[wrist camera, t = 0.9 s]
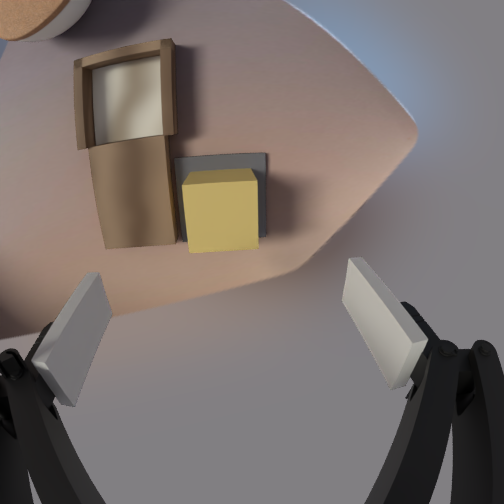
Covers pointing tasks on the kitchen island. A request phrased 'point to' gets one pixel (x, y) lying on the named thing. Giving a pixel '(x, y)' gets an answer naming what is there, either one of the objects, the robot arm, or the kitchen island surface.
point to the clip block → (221, 210)
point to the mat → (221, 163)
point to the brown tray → (134, 150)
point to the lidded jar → (38, 18)
